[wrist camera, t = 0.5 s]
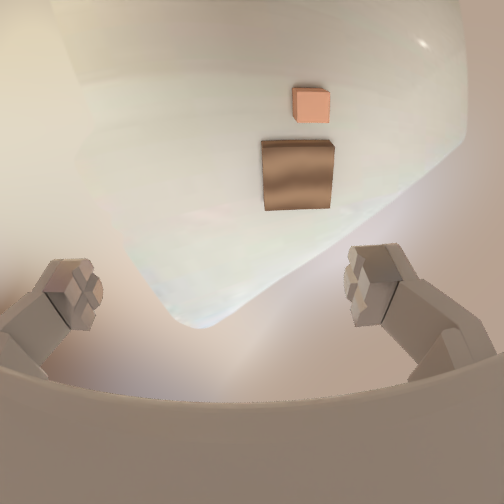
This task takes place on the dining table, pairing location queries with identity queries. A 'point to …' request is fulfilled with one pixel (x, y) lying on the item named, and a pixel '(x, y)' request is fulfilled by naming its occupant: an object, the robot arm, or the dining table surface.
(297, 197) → the walnut board
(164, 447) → the robot arm
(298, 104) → the terracotta cube
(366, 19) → the dining table surface
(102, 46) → the dining table surface
